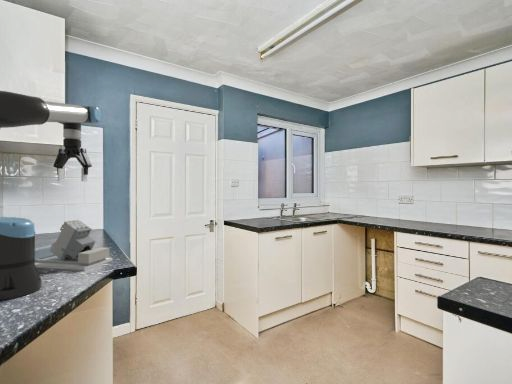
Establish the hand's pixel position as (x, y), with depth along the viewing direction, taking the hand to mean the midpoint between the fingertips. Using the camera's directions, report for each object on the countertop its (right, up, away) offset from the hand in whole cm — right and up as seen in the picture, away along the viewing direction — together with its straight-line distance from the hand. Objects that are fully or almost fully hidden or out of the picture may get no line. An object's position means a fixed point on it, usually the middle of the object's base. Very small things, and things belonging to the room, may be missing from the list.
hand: (72, 181), depth 139 cm
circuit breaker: (+9, -35, -17) cm, 39 cm away
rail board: (+9, -37, -17) cm, 41 cm away
